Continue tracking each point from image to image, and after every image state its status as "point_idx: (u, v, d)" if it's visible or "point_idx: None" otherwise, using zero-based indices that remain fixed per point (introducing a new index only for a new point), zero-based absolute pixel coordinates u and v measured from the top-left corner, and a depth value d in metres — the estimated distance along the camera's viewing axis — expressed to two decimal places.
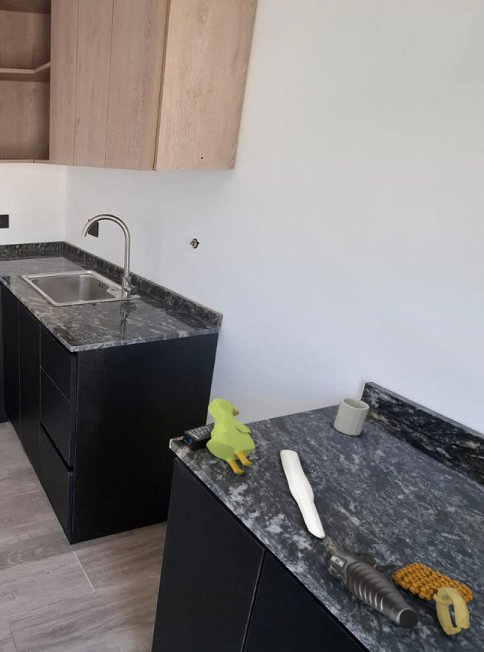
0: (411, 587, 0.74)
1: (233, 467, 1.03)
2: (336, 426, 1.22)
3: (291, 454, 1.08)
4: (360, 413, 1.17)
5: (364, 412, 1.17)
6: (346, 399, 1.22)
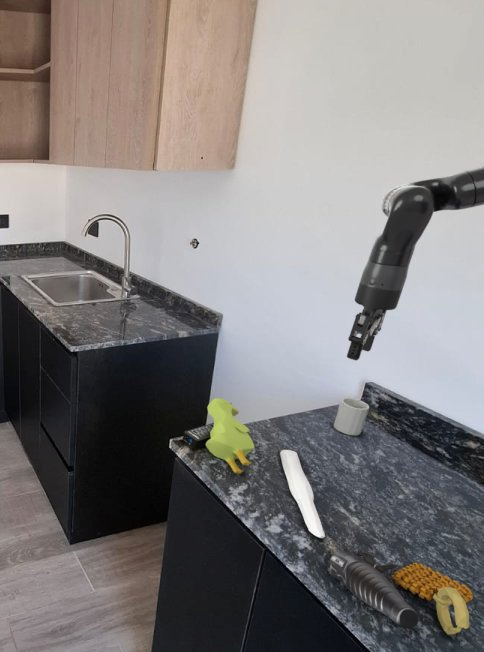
0: (411, 587, 0.74)
1: (232, 467, 1.03)
2: (336, 426, 1.22)
3: (291, 454, 1.08)
4: (360, 413, 1.17)
5: (364, 412, 1.17)
6: (346, 399, 1.22)
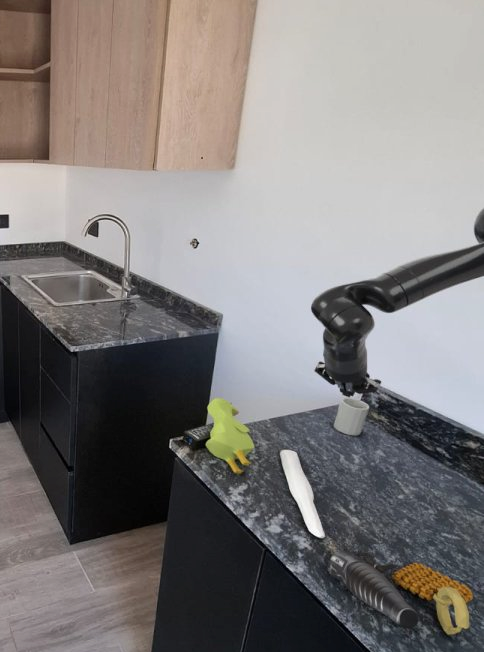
0: (411, 587, 0.74)
1: (232, 467, 1.03)
2: (336, 426, 1.22)
3: (291, 454, 1.08)
4: (360, 413, 1.17)
5: (364, 412, 1.17)
6: (346, 399, 1.22)
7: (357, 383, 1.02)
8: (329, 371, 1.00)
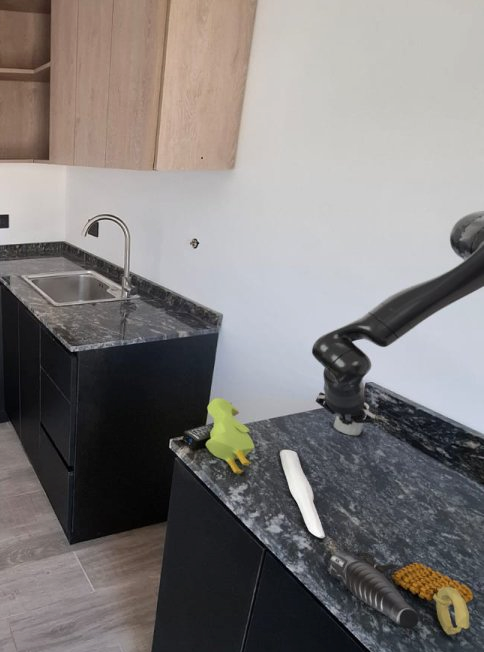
0: (411, 587, 0.74)
1: (232, 467, 1.03)
2: (336, 426, 1.22)
3: (291, 454, 1.08)
4: None
5: None
6: None
7: (355, 414, 1.10)
8: (329, 404, 1.08)
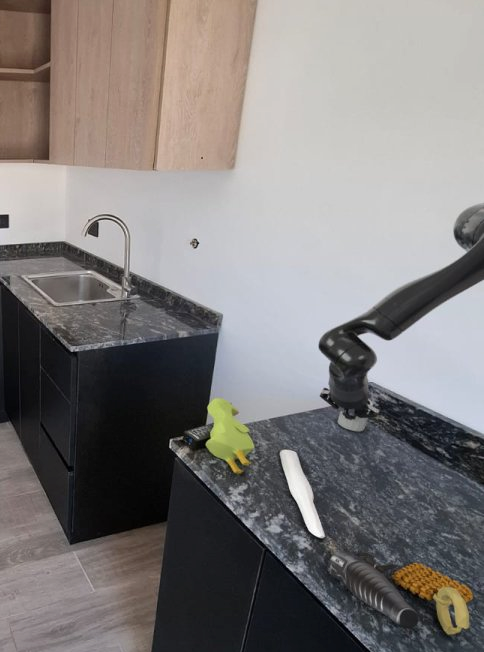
0: (411, 587, 0.74)
1: (232, 467, 1.03)
2: (339, 422, 1.24)
3: (291, 454, 1.08)
4: None
5: None
6: None
7: (359, 409, 1.12)
8: (334, 398, 1.10)
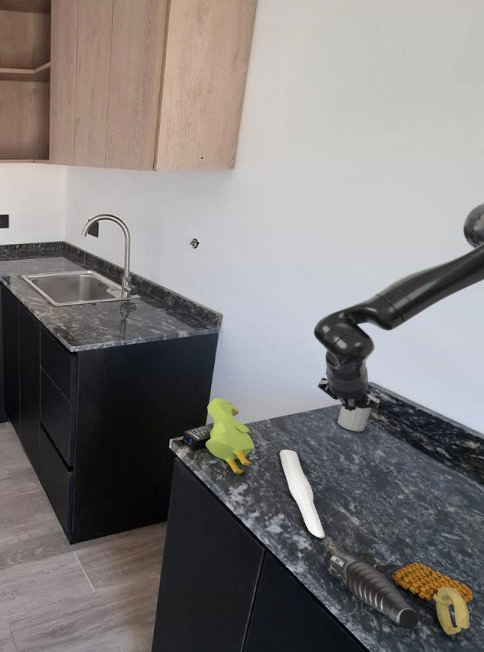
0: (411, 587, 0.74)
1: (232, 467, 1.03)
2: (339, 422, 1.24)
3: (290, 454, 1.08)
4: (362, 409, 1.19)
5: (367, 408, 1.19)
6: None
7: (358, 399, 1.08)
8: (332, 388, 1.06)
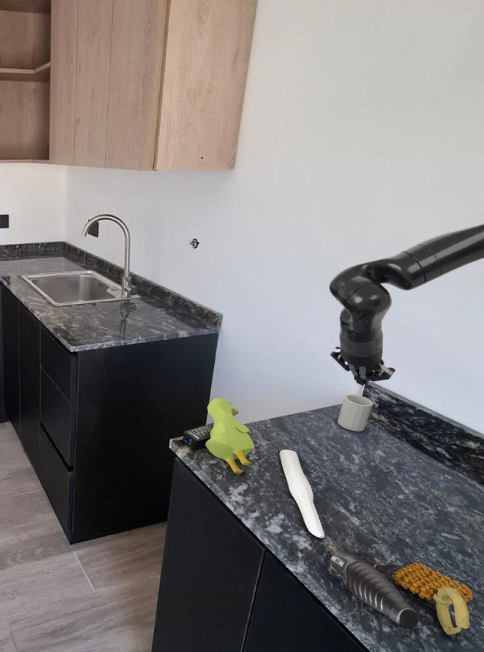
0: (411, 587, 0.74)
1: (232, 467, 1.03)
2: (339, 422, 1.24)
3: (290, 454, 1.08)
4: (362, 409, 1.19)
5: (367, 408, 1.19)
6: (351, 396, 1.24)
7: (371, 369, 1.04)
8: (343, 353, 1.02)
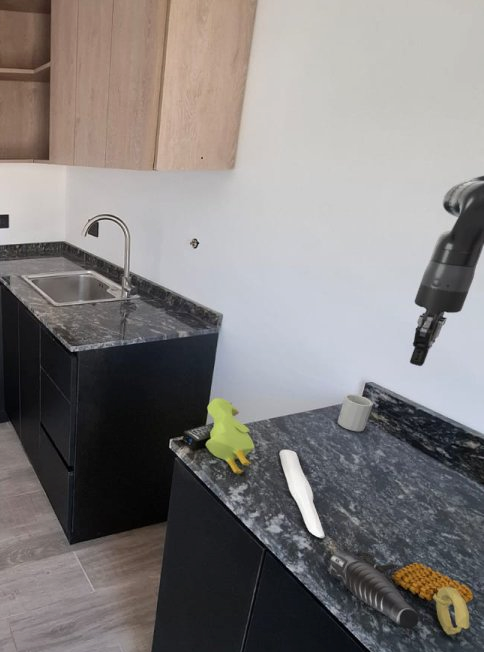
0: (411, 587, 0.74)
1: (232, 467, 1.03)
2: (339, 422, 1.24)
3: (290, 454, 1.08)
4: (362, 409, 1.19)
5: (367, 408, 1.19)
6: (351, 396, 1.24)
7: (421, 324, 0.96)
8: None
